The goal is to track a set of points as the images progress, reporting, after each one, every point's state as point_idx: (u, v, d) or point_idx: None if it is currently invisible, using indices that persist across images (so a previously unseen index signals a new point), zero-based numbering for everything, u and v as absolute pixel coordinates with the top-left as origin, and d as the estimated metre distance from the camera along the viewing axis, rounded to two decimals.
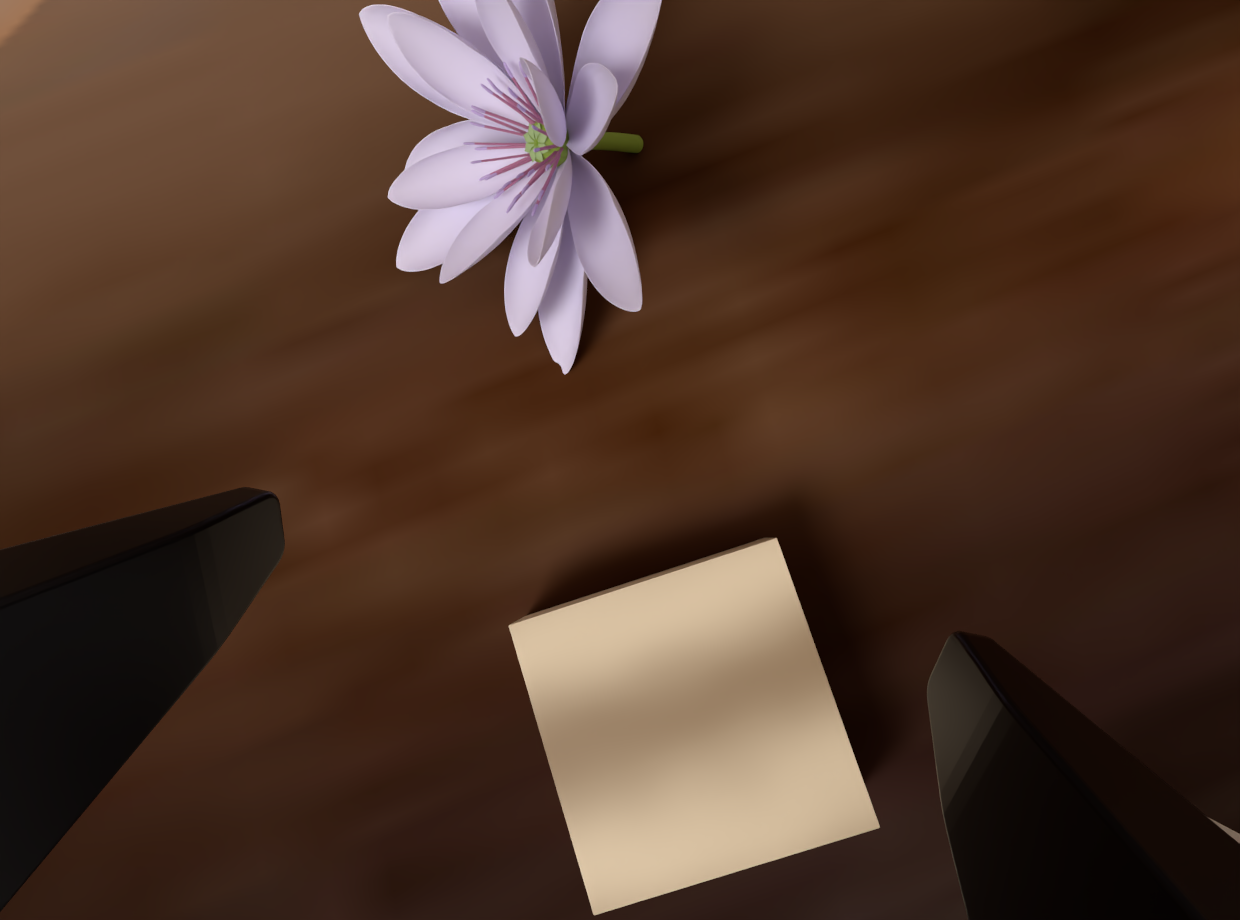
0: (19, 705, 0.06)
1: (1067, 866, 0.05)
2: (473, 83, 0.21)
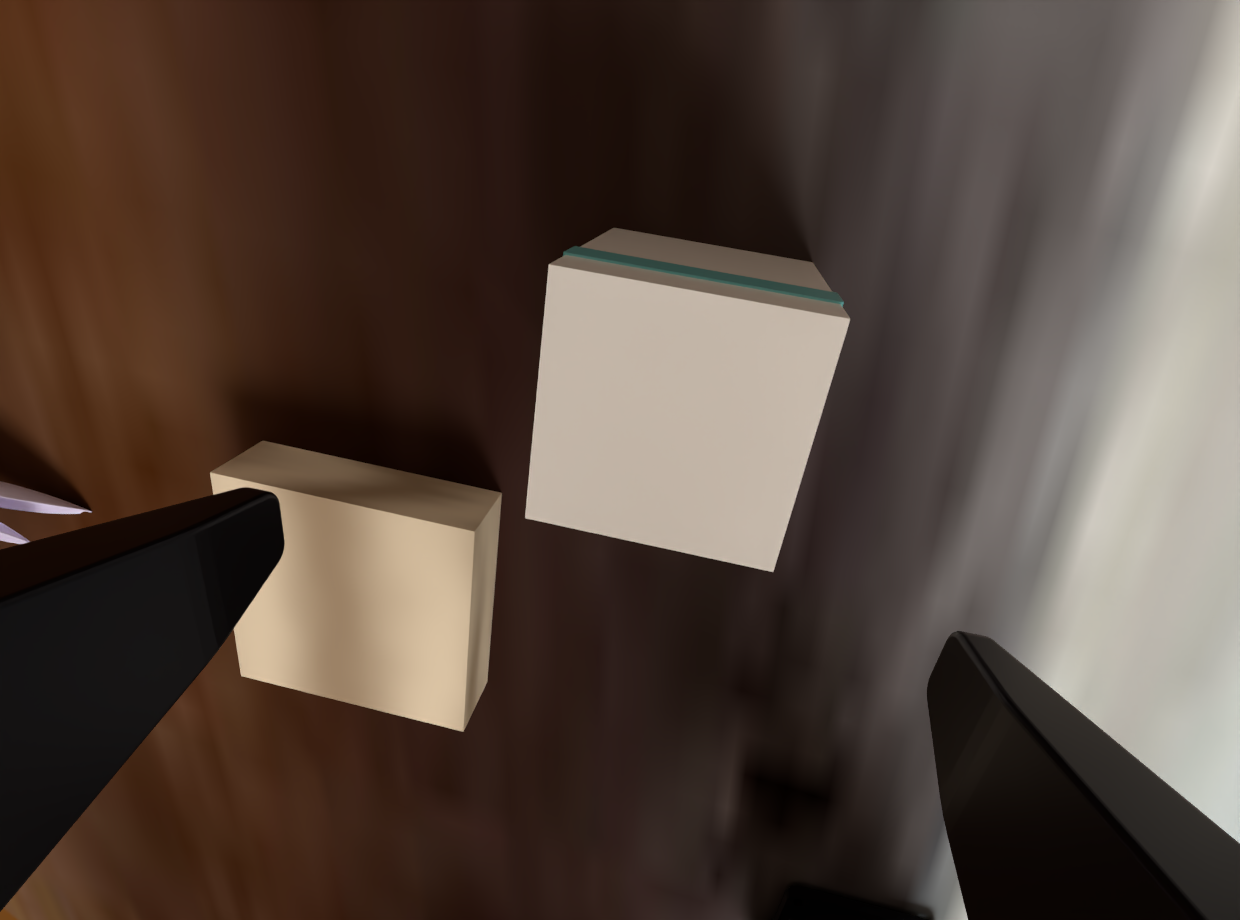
0: (19, 705, 0.06)
1: (1067, 866, 0.05)
2: None
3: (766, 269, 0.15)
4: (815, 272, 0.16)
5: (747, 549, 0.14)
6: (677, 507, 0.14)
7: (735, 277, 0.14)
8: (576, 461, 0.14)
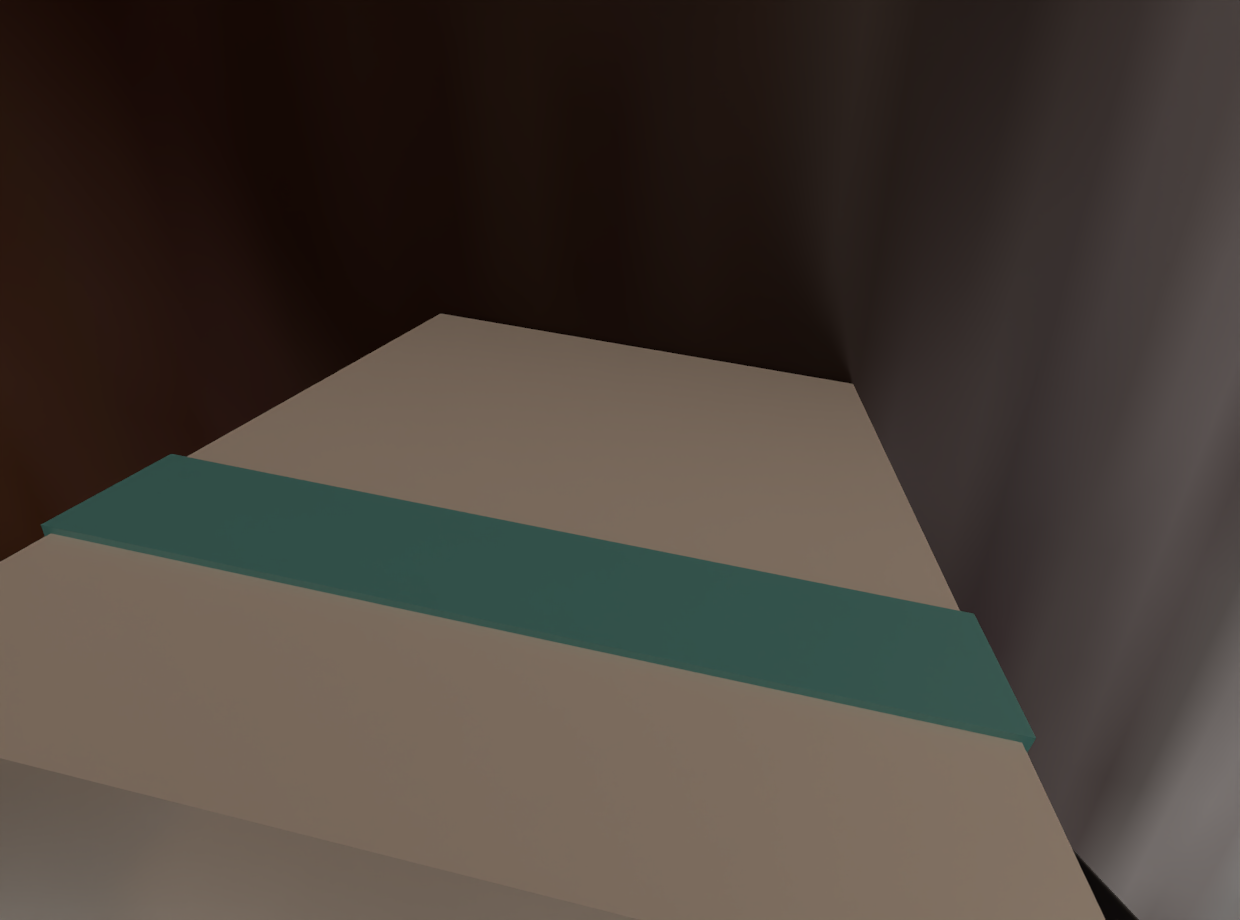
0: None
1: None
2: None
3: (750, 459, 0.06)
4: (870, 443, 0.07)
5: None
6: None
7: (641, 579, 0.04)
8: None
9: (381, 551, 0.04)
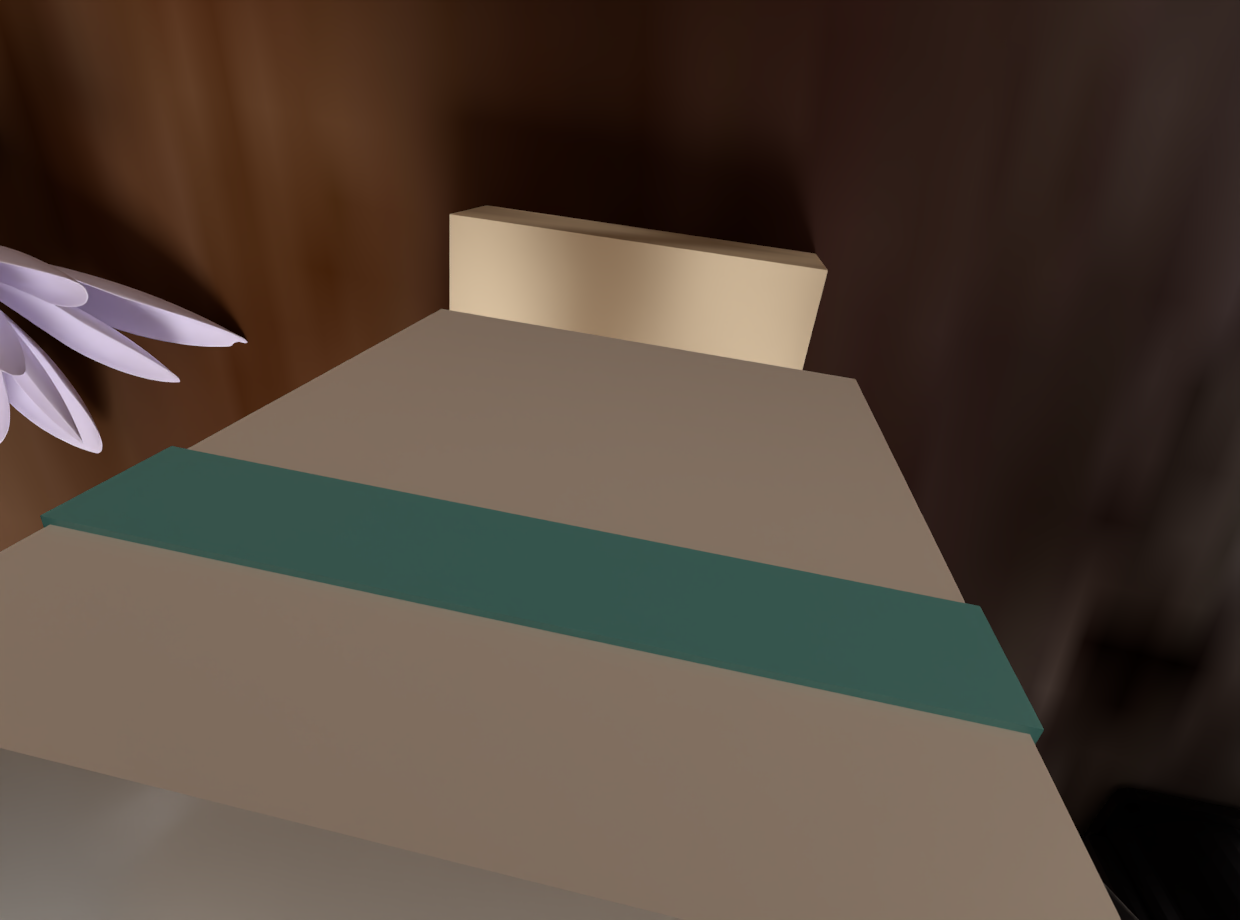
0: None
1: None
2: None
3: (753, 452, 0.06)
4: (874, 437, 0.07)
5: None
6: None
7: (645, 570, 0.04)
8: None
9: (383, 542, 0.04)
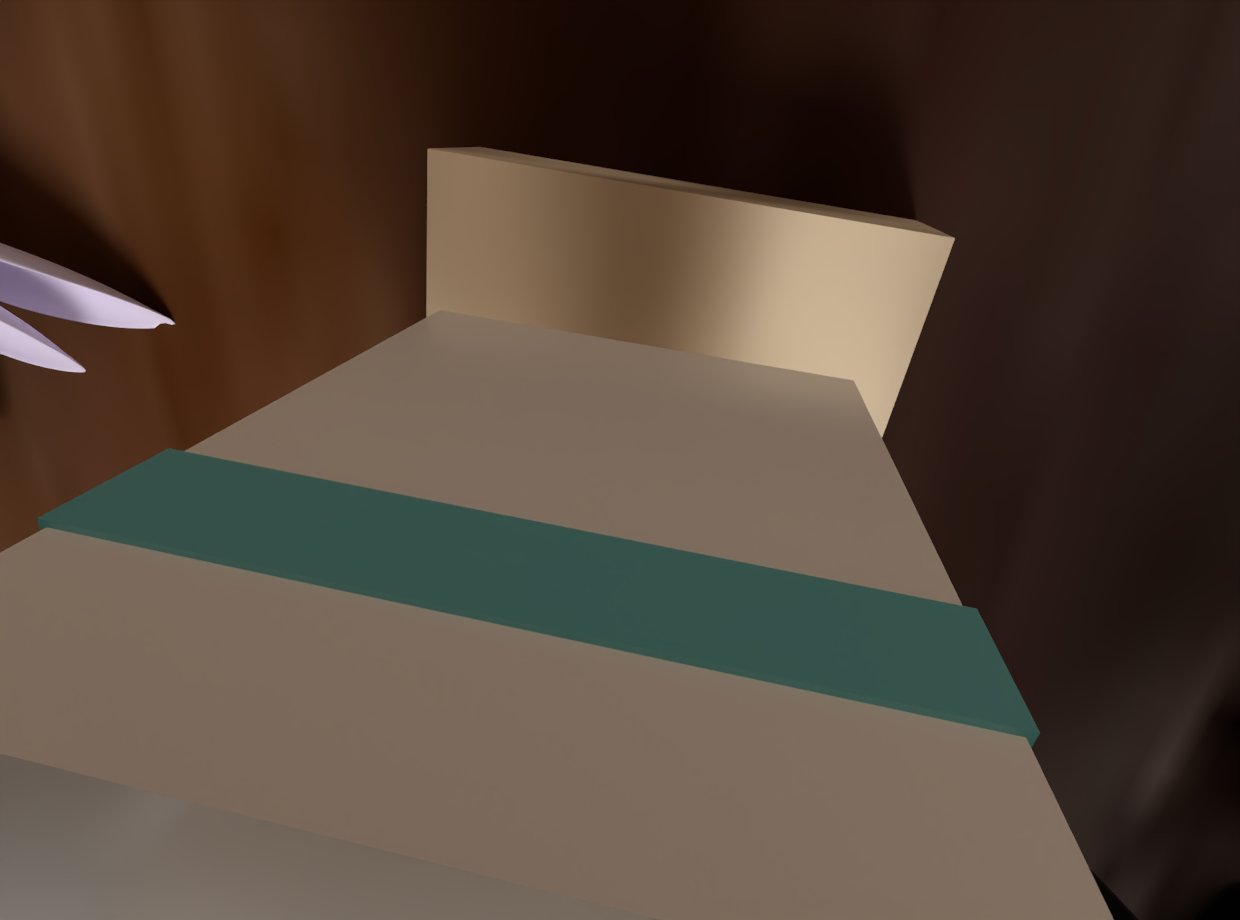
0: None
1: None
2: None
3: (751, 454, 0.06)
4: (872, 439, 0.07)
5: None
6: None
7: (642, 573, 0.04)
8: None
9: (379, 545, 0.04)
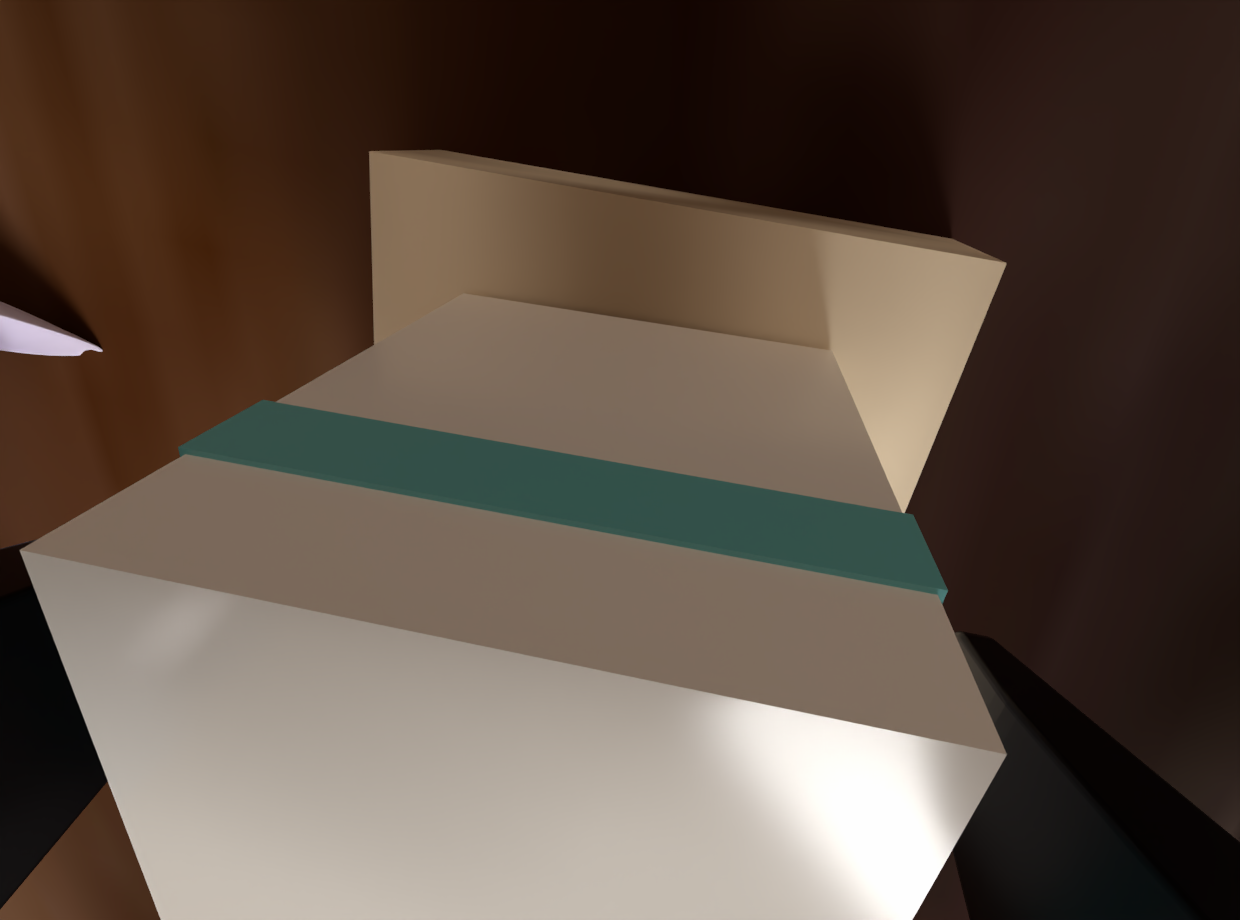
0: (17, 705, 0.06)
1: (1069, 867, 0.05)
2: None
3: (738, 407, 0.07)
4: (843, 396, 0.08)
5: None
6: None
7: (647, 488, 0.05)
8: None
9: (442, 467, 0.05)
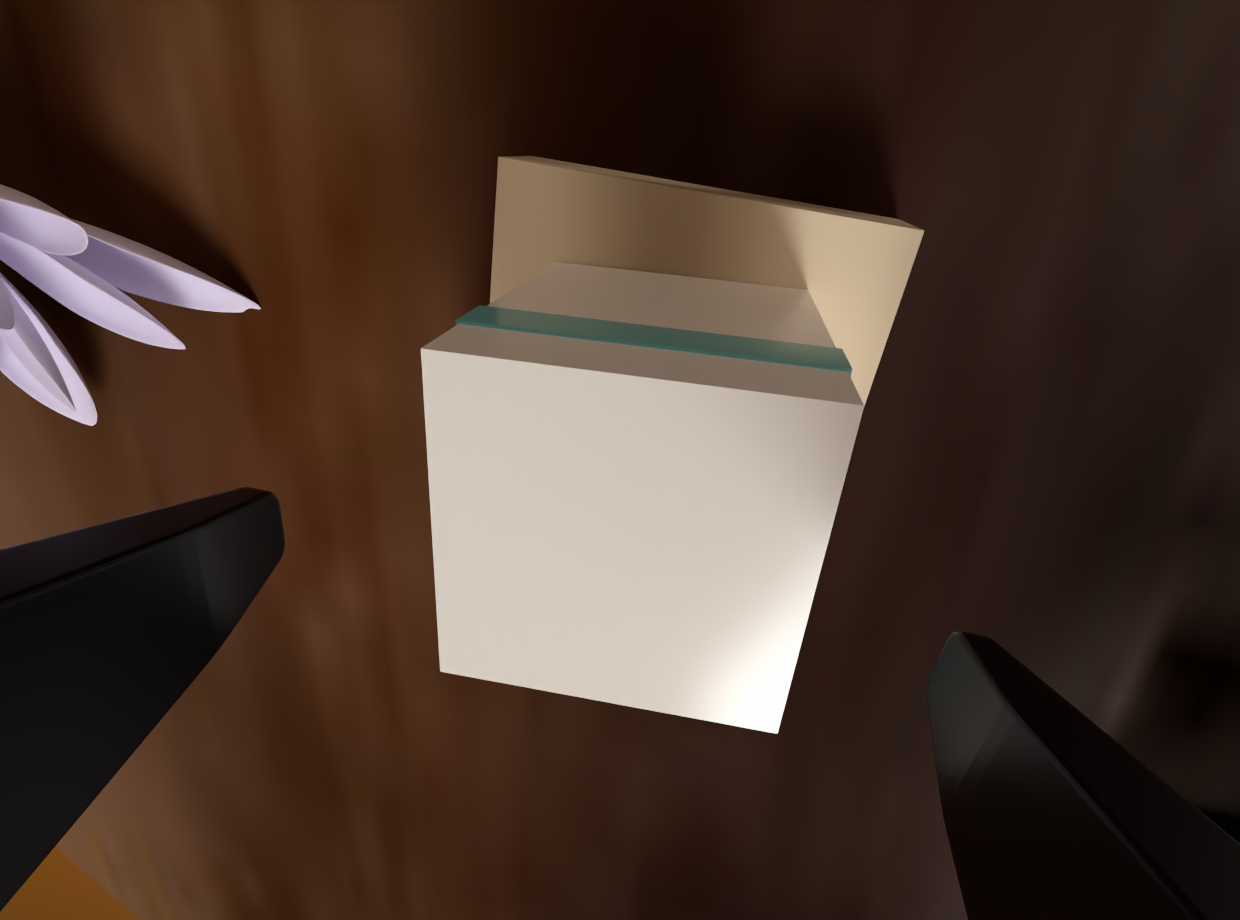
0: (18, 705, 0.06)
1: (1067, 866, 0.05)
2: None
3: (745, 312, 0.12)
4: (812, 309, 0.12)
5: (739, 706, 0.10)
6: (639, 656, 0.10)
7: (698, 337, 0.10)
8: (497, 602, 0.10)
9: (590, 328, 0.10)
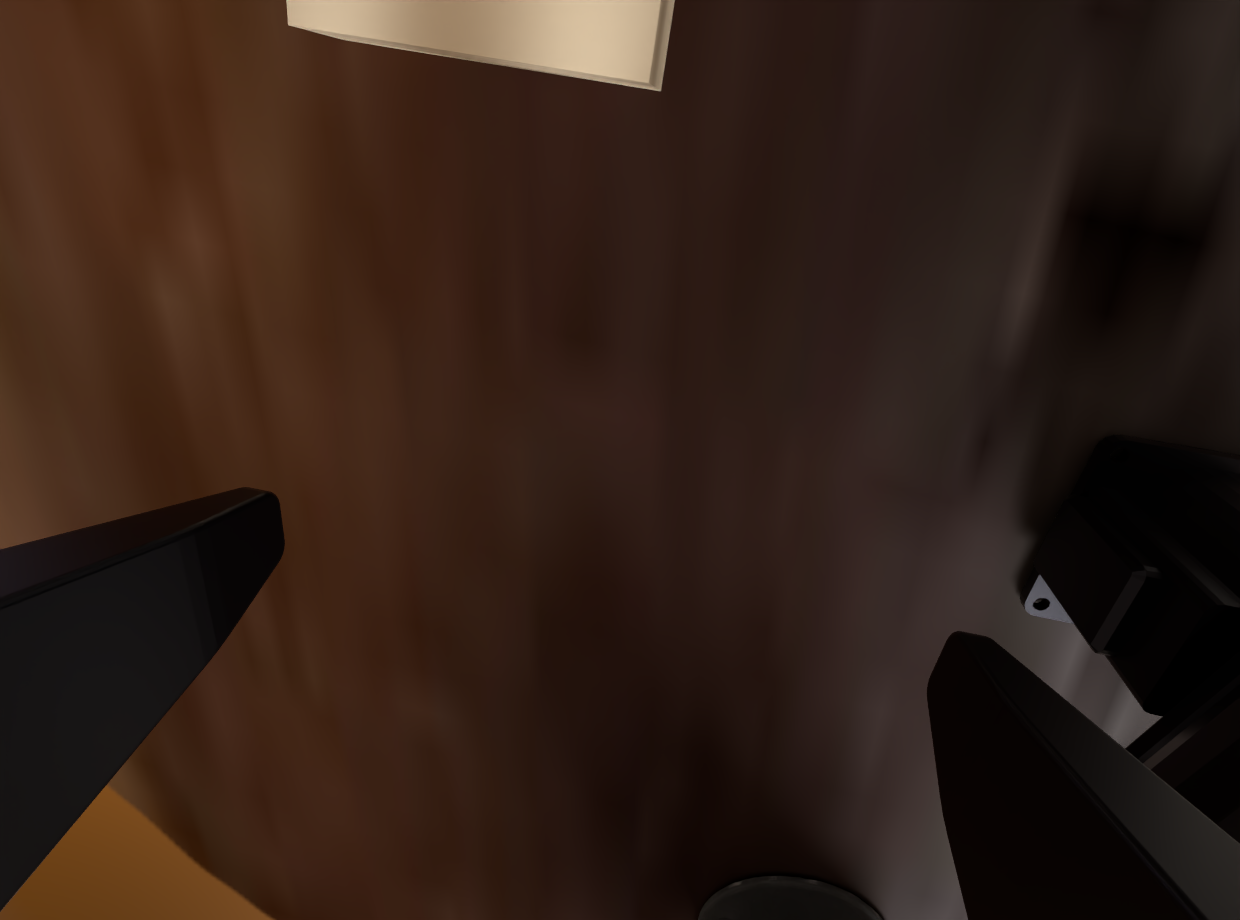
0: (18, 705, 0.06)
1: (1067, 866, 0.05)
2: None
3: None
4: None
5: None
6: None
7: None
8: None
9: None
